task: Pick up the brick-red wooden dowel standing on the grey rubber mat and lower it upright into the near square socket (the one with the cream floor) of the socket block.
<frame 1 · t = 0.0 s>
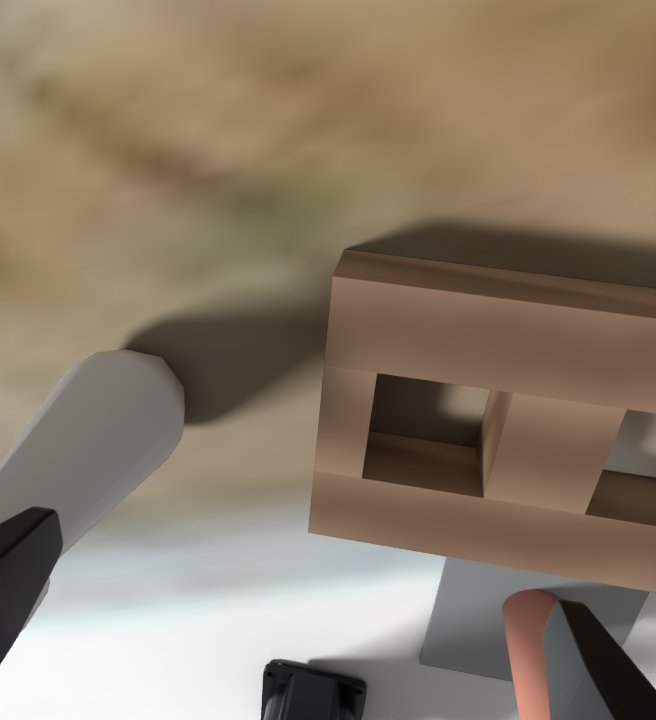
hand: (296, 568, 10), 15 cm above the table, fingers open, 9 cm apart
peg: (533, 610, 29), resting on mat
socket block: (533, 408, 24), on the table
mat: (527, 618, 30), on the table
salt shaker: (145, 385, 27), on the table
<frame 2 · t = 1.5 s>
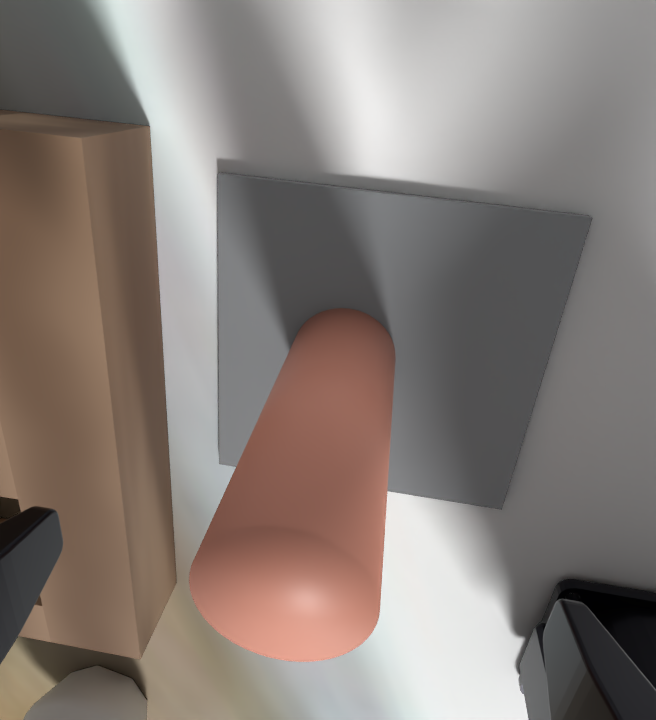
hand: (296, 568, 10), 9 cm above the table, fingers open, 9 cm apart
peg: (343, 356, 17), resting on mat
socket block: (4, 379, 20), on the table
mat: (376, 356, 17), on the table
salt shaker: (109, 687, 28), on the table
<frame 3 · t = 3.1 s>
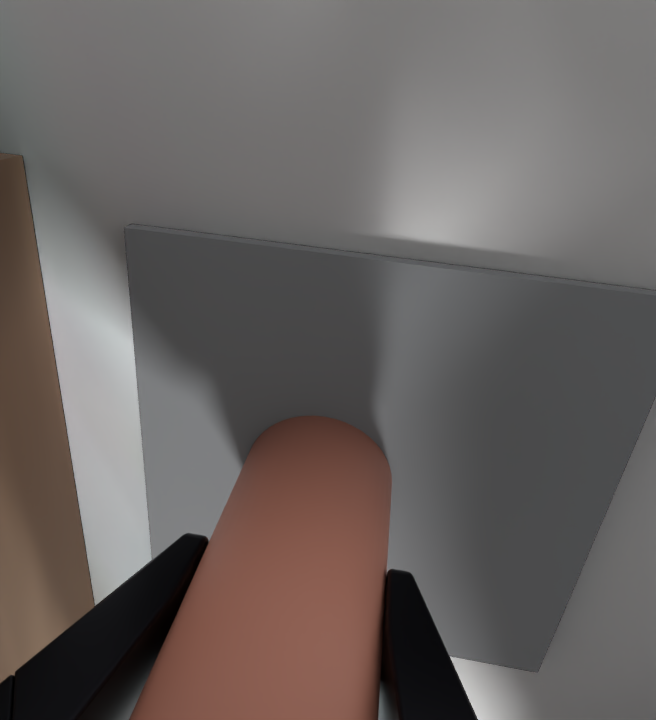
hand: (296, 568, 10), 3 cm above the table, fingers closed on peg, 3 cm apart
peg: (318, 477, 12), resting on mat, touching gripper
mat: (364, 476, 12), on the table
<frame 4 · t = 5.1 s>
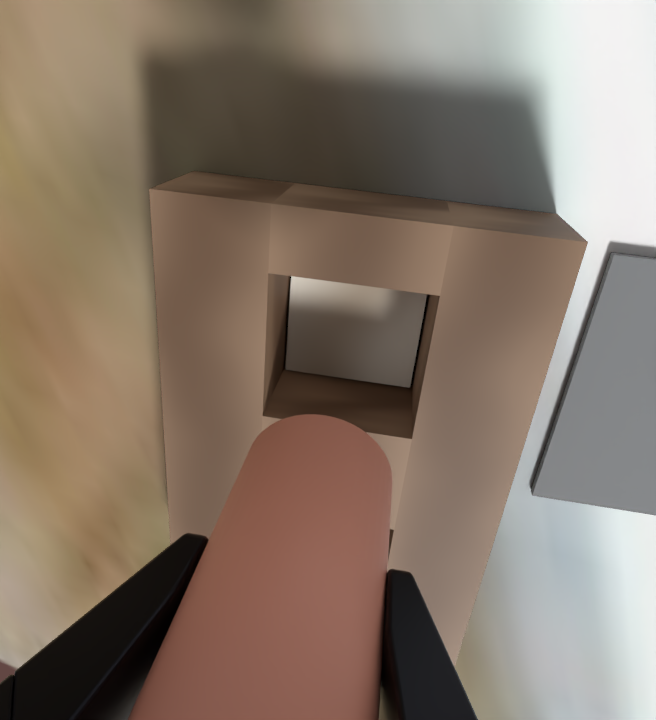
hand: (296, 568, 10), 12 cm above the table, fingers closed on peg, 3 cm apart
peg: (318, 476, 12), point 9 cm above the table, touching gripper
socket block: (342, 420, 22), on the table
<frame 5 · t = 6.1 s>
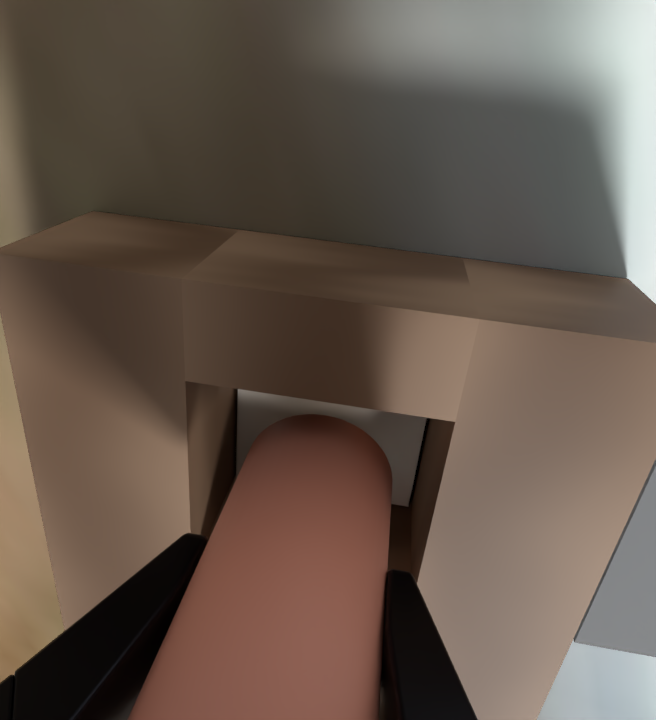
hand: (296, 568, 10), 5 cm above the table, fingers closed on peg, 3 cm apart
peg: (318, 476, 12), point 3 cm above the table, touching gripper
socket block: (316, 540, 16), on the table
when the fingers open (4 cm above the table, at t = 7.0 s): peg drops 1 cm, resting on socket block.
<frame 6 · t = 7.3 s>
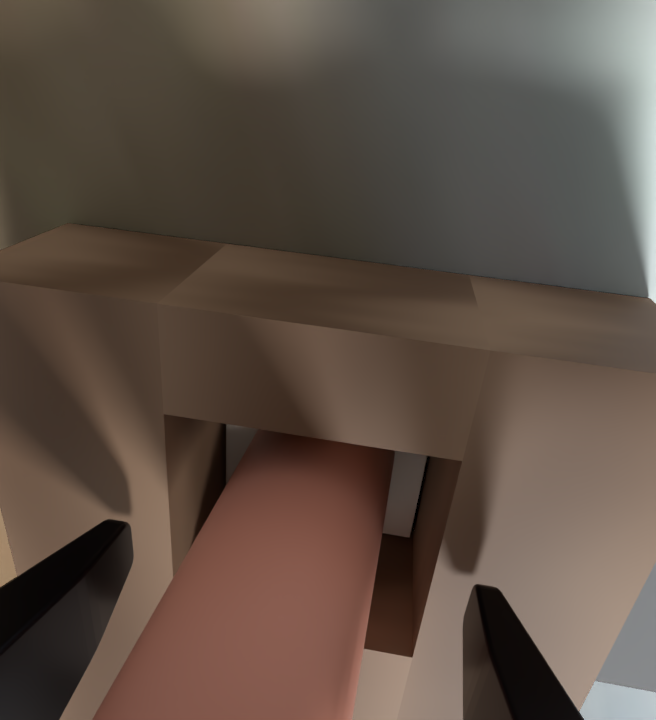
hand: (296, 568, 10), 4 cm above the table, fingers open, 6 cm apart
peg: (326, 446, 13), resting on socket block
socket block: (312, 570, 15), on the table
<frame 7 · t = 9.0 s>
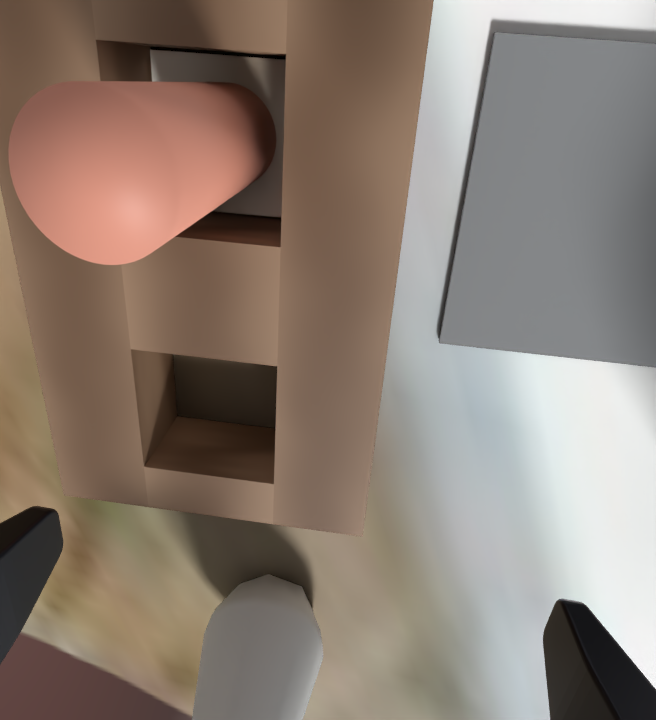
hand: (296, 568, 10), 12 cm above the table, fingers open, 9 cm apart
peg: (228, 136, 18), resting on socket block
socket block: (231, 267, 20), on the table
mat: (616, 220, 18), on the table
salt shaker: (274, 599, 29), on the table
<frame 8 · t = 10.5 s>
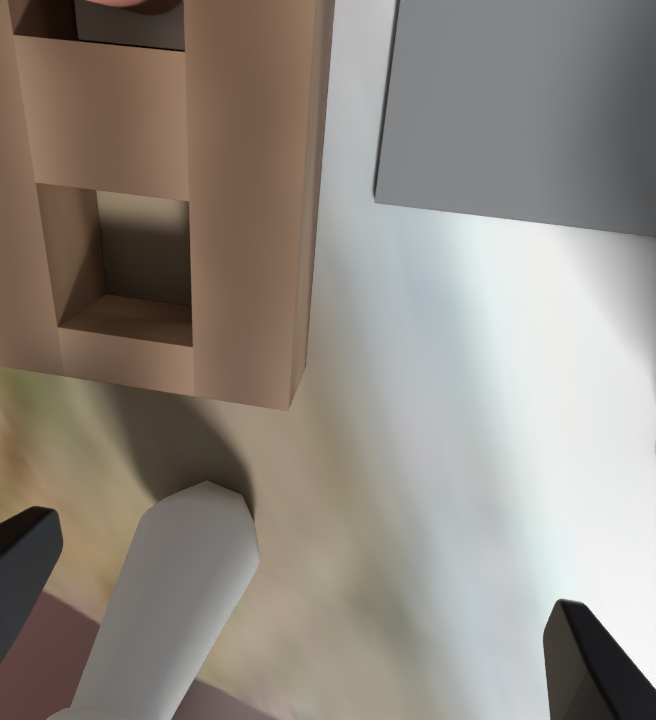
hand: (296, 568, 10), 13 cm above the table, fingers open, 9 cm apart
socket block: (155, 115, 19), on the table
mat: (559, 53, 17), on the table
salt shaker: (215, 510, 27), on the table
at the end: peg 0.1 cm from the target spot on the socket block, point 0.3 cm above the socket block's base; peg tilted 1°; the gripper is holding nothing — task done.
